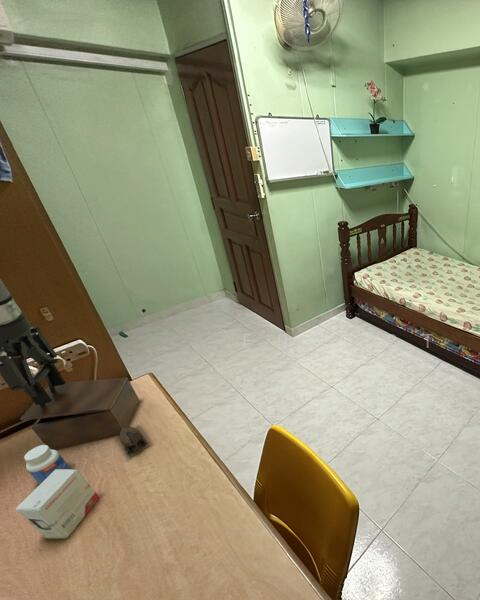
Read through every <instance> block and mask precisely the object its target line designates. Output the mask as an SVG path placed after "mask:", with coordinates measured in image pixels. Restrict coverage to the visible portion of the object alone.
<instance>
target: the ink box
mask: <svg viewBox="0 0 480 600" xmlns="http://www.w3.org/2000/svg"><path fill="white" fill-rule="evenodd" d="M99 499H100V495H98V493H97V492H96V491H95V490H94V488H93V487H92V486H91V484H90V483H89V482H88V481H87V479H86V478H85V477H84V476H83V475H82V473H81V472H80V471H79V470H78V469H76V468H75V469H73V468H70V469H55V470H54V471H53V472H52V473H51V474H50V475H49V476H48V477H47V478H46V479H45V480H44V481H43V482H42V483H41V484H39V485H38V486H37V487H36V488H35V489H34V490H33V491H31V493H29V494H28V495H27V496H26V497H25V499H23V500H22V501H21V502H20V503H19V504H18V505H17V506H16V507H15V511H16V512H17V513H18V514H20V515H21V516H22V517H23V518H24V519H25V520H26V521H27V522H28V523H29V524H30V525H31V526H32V527H33V528H34V529H36V531H37V532H39V534H40V535H42V536H43V537H44V538H45V539H67V538H68V537H69V536H70V535H71V534H72V532H73V531H74V530H75V529H76V527H78V526H79V524H80V522H81V521H82V520H83V519H84V518H85V517H86V516H87V514H88V512H89V511H90V510H91V509H92V507H93V506H94V505H95V504H96V503H97V501H98V500H99Z"/></svg>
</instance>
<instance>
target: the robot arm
mask: <svg viewBox="0 0 480 600" xmlns="http://www.w3.org/2000/svg"><path fill="white" fill-rule="evenodd" d="M57 357H58V353H57V352H56V351H55V349H54V348H53V347H52V345H51V344H50V343H49V341H48V340H47V339H46V337H45V335H43V333H42V329H41V327H40V326H32V324H31V323H30V321H29V320H28V318H27V317H26V315H25V314H23V313H22V310H21V308H20V307H19V305H18V304H17V302H16V300H14V298H13V296H12V294H11V293H10V292H9V290H8V288H7V287H6V285H5V283H4V281H2V279H1V278H0V376H1V377H2V379H3V380H4V382H5V383H6V384H7V386H8V388H9V389H10V391H11V392H17V391H23V392H24V393H25V394H26V395H27V397H28V398H31V400H32V402H33V403H34V402H35V404H36V405H39V404H44V403H49V402H51V401H52V400H51V398H50V397H49V396H48V394H47V393H46V392H45V389H44V387H43V386H42V385H41V382H40V383H39V382H34V379H33V374H32V371H31V369H30V366H29V362H28V360H27V359H28V358H30V359H32V360H33V361H34V362H35V363H37V364H38V365H39V366H40V367H39V369H38V370H40V369H41V368H42V367H49V368H50V369H51V371H50V372H49V375H50V378H51V380H52V383H53V385H54V386H59V385H64V384H65V383H67V382H66V380H65V379H64V377H63V376H62V375H61V373H60V371H59V369H58V367H57V366H56V365H55V364H57V363H59V359H58V358H57Z"/></svg>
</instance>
